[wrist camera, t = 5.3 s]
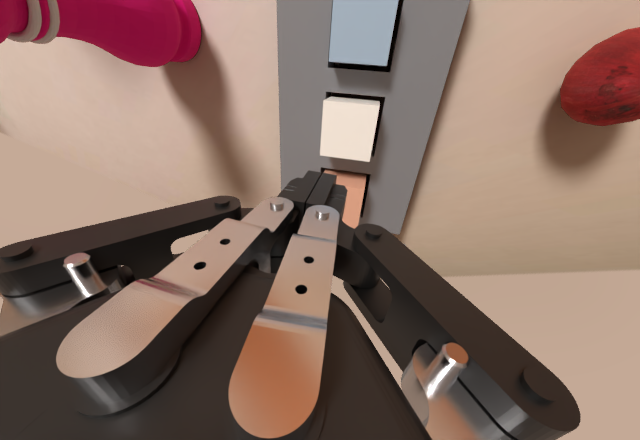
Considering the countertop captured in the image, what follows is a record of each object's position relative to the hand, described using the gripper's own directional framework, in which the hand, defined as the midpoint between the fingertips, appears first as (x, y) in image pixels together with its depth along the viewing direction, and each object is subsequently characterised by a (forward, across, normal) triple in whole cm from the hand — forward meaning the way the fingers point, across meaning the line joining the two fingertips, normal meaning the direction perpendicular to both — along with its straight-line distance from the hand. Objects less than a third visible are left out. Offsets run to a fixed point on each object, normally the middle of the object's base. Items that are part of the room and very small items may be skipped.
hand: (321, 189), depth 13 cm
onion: (+15, -18, -7) cm, 25 cm away
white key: (+13, 0, -1) cm, 13 cm away
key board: (+15, 0, -1) cm, 15 cm away
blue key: (+14, 0, -8) cm, 16 cm away
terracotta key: (+13, 0, +6) cm, 14 cm away
